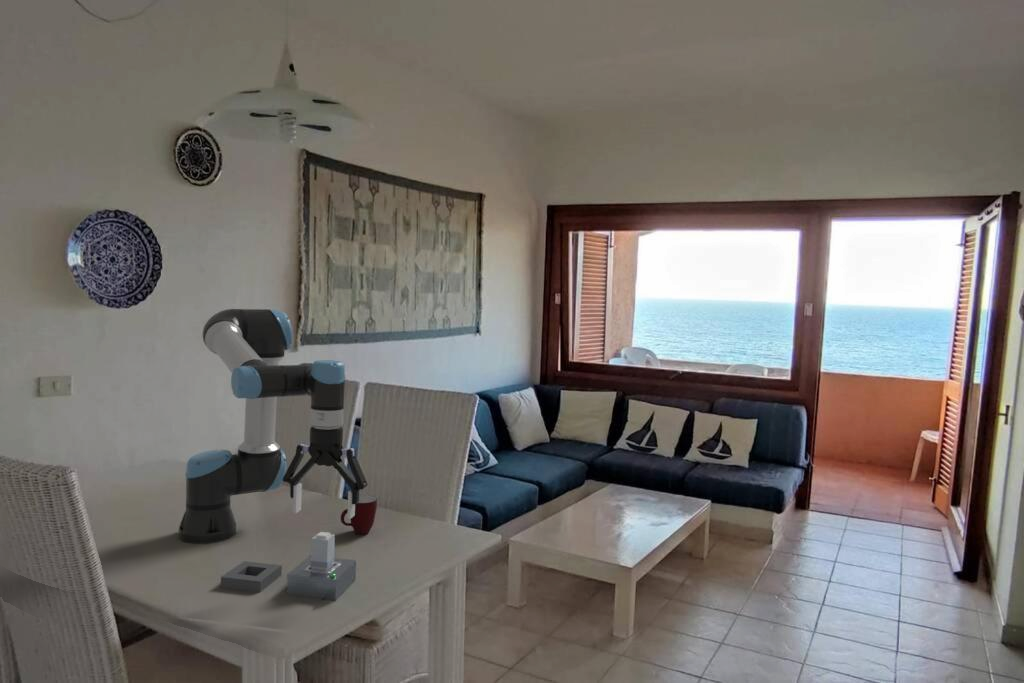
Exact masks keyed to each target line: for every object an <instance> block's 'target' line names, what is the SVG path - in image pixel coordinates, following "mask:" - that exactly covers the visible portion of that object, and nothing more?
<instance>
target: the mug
mask: <svg viewBox="0 0 1024 683" xmlns="http://www.w3.org/2000/svg"><path fill="white" fill-rule="evenodd" d="M377 509H378V499H377V497H376V496H373V495H369V494H359V502H358V503H357V504H355V516H353V517H352V518H351V519H350V522H346V521H345V516H346V515H347V514H348V508H346V509H344V510H343V511H342V512H341V514H340V522H341V523H342V524H343V525H344V526H348V527H352V529H353V530H354V533H355V534H357V535H366V534H369V533H370V531H371V529H372V527H373V525H374V523H375V518H376V514H377V513H376V512H377Z"/></svg>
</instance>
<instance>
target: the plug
mask: <svg viewBox="0 0 1024 683" xmlns="http://www.w3.org/2000/svg"><path fill="white" fill-rule="evenodd" d="M335 536H336V534H333V533H331V532H327V531H326V532H325V531H320V532H318V533H317V534H316V535H314V536H313V537H312V538H311V564H310V566H311V570H318V571H327V572H329V571H330V570H331V569H332V568H333V567H334V561H335V558H336V556H335V541H336V537H335Z"/></svg>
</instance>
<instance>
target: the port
mask: <svg viewBox="0 0 1024 683" xmlns="http://www.w3.org/2000/svg"><path fill="white" fill-rule="evenodd" d="M310 564H311V555H308V556H307V557H306V558H305V559H304V560H303V561H301V562H300V563H299V564H298V565H296V567H294V568H293V569H292V570H290V571H289V572H288V573H286V594H289V595H290V594H291V595H299V596H306V597H314V598H321V600H324V601H331V602H332V601H333V602H336V601H338V599H339V598H340V597H341V596H342V595H344V594H345V592H346V591H347V590H348V589H349V587H351V585H353V583H355V581H356V575H357V574H356V572H357V560H356V559H355V560H354V559H346V558H337V557H335V561H334V567H333V568H332V569H331V570H330V571H329V572H327V571H318V570H311V566H310Z"/></svg>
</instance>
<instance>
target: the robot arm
mask: <svg viewBox="0 0 1024 683" xmlns="http://www.w3.org/2000/svg"><path fill="white" fill-rule="evenodd" d="M293 339H294V333H293V327H292V323H291V320H290V319H289V316H288V315H287V313H286V312H285V311H282V310H278V309H267V308H265V309H264V308H263V309H261V308H257V309H256V308H255V309H253V308H252V309H251V308H249V309H248V308H227V309H223V310H220V311H218V312H217V313H215V314H213V315H212V316H210V317H209V319H207V321H206V323H205V324H204V326H203V329H202V341H203V342H204V345H205V346H206V348H207V349H208V350H209V352H211V353H213V354H214V355H218V357H219V358H220V359H221V360H222V362H223V363H224V365H225V366H226V368H227V369H228V370H229V371H230V373H231V378H230V385H231V386H230V387H231V389H232V394H233V395H234V397H236V398H237V399H245V408H244V430H243V431H244V432H243V433H244V434H243V442H242V443H240V444H239V445H238V447H237V453H236V454H232V451H230V450H229V449H213V450H207V451H203V452H199V453H197V454H194V455H193V456H191V457H190V458H189V459H188V461H187V463H186V470H185V481H186V482H185V511H184V513H183V516H182V518H181V521H180V524H179V526H178V533H177V535H178V539H179V540H181V541H183V542H186V543H191V544H207V543H215V542H219V541H223V540H227V539H229V538H231V537H234V535H236V533H237V522H236V519H235V516H234V513H233V510H232V507H231V497H232V496H236V495H237V496H239V495H246V494H253V493H259V492H262V493H265V492H268V491H273V490H276V489H278V488H279V487H280V486H281V485H282V484H283V483H288V484H289V486H290V489H289V490H290V491H289V493H290V494H289V497H290V498H291V499H293V500H292V501H293V502H292V512H293V513H292V514H298V513H299V512H300V511H301V510H302V497H303V496H302V495H303V494H302V491H303V483H302V482H301V480H302V479H303V478H304V477H305V475H306V474H307V473H308V472H309V471H310V470H311V469H312V468H313V467H314V466H315V465H317V466H325V467H333V468H334V469H335V470H337V472H338V473H339V475H340V476H341V478H342V479H343V481H344V482H345V483H346V485H347V486H348V487H349V490H348V493H347V509H348V513H346V515H347V516H346V517H347V518H346V519H348V520H351V518H352V517H353V516H355V504H357V503H358V502H359V495H360V490H364V489H365V488H366V487H367V486H369V485H368V481H367V479H366V477H365V475H364V473H363V470H362V468H361V465H360V463H359V460H358V459H357V455H356V454H357V452H356V448H355V447H353V446H352V447H351V448H344V446H343V440H344V438H343V437H344V428H343V427H342V425H344V408H345V407H344V406H345V405H344V404H345V403H344V402H345V385H346V384H345V382H346V375H345V374H346V373H345V372H346V370H345V369H346V368H345V364H344V362H343V361H340V360H334V359H332V360H331V359H321V360H320V359H319V360H315V361H314V362H312V363H311V362H303V363H299V364H289V365H279V363H280V361H281V360H282V359H283V358H285V352H286V351H288V350H289V349H291V348H292V344H293ZM303 396H309V397H310V421H309V422H310V425H311V427H310V429H309V445H307V444H306V443H305V442H302V443H300V444H298V445H297V446H296V449H295V454H294V456H293V458H292V460H291V462H290V464H289V466H288V467H287V461H286V460H287V456H286V454H285V452H284V451H283V450H282V449H281V446H280V444H278V443H277V442H276V421H277V405H278V404H277V402H278V399H277V398H279V397H280V398H286V397H303ZM307 452H308V454H309V455H310V458H309V459H308V460H307V462H306V463H305V464H304V465H303V466H302V468H300V469H299V471H298V472H297V473H296V471H297V469H298V467H299V466H300V463H301V462H302V460H303V458H304V456H305V454H307ZM343 455H344V458H345V459H346V460H347V462H348V465H349V467H350V469H349V468H348V467H347V465H346V464H345V460H344V459H343V458H342V456H343ZM350 470H351V471H350ZM295 473H296V474H295ZM300 482H301V483H300Z"/></svg>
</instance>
